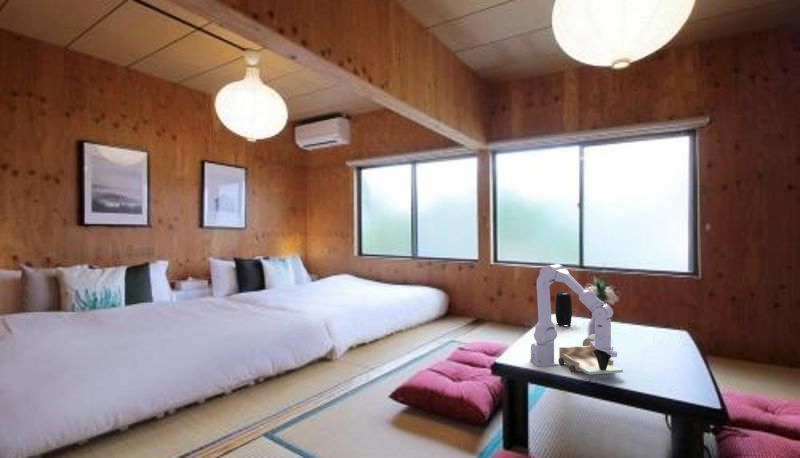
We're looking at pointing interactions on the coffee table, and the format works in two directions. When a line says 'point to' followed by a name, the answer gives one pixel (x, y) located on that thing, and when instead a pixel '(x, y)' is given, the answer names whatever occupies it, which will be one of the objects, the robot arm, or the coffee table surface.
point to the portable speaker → (563, 308)
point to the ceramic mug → (588, 339)
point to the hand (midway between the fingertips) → (602, 369)
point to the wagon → (578, 357)
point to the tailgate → (598, 371)
